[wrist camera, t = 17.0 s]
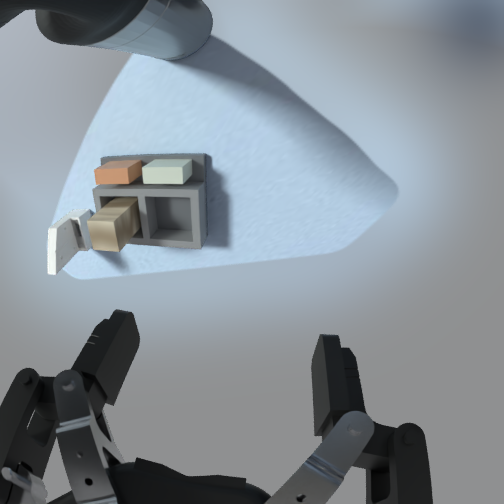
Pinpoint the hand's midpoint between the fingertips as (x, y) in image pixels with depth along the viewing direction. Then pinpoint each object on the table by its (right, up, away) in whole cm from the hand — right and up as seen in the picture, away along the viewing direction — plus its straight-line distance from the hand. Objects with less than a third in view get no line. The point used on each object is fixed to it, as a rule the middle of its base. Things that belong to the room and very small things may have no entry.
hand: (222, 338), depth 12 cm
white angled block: (-26, +8, +30) cm, 40 cm away
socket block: (-12, +12, +26) cm, 31 cm away
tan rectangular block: (-16, +10, +27) cm, 32 cm away
